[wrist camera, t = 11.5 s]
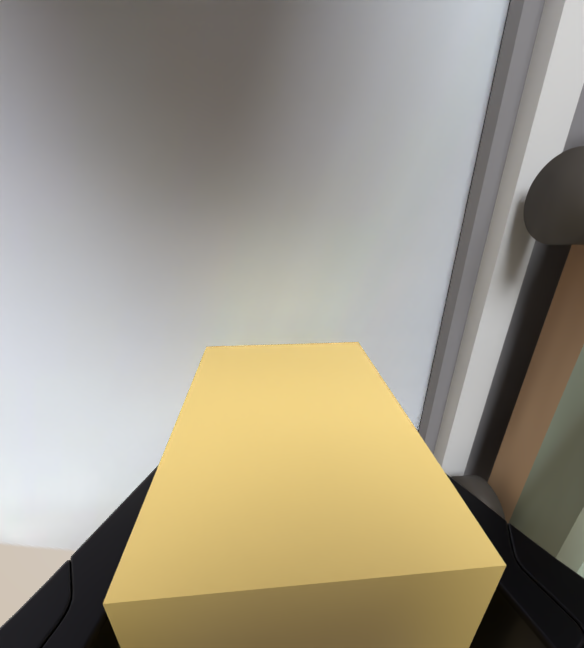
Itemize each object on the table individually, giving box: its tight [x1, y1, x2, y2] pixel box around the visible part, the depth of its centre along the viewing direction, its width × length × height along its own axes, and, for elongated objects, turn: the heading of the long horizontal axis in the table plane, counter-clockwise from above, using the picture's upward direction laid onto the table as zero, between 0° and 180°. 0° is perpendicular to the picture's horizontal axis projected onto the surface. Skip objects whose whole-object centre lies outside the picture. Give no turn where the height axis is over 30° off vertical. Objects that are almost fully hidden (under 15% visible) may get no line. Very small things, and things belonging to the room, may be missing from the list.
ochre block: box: [103, 342, 506, 648], centre depth 7 cm, size 4×4×6 cm
